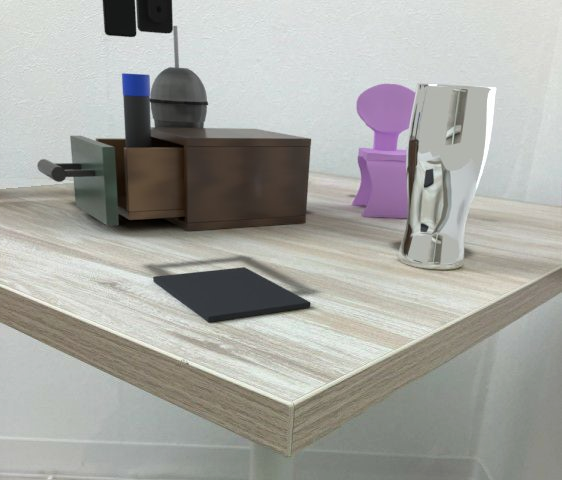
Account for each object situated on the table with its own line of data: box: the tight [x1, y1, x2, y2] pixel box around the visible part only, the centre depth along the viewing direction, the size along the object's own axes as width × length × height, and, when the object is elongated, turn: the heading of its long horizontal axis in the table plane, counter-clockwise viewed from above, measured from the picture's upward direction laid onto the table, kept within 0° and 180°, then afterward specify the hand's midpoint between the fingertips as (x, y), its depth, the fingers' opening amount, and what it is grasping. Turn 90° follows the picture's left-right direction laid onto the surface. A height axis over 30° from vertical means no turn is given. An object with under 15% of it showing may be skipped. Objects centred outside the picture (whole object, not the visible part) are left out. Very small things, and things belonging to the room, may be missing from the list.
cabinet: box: [151, 126, 312, 232], centre depth 73 cm, size 15×13×9 cm
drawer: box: [36, 135, 185, 227], centre depth 68 cm, size 18×11×7 cm, turn 121°
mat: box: [152, 266, 312, 323], centre depth 48 cm, size 10×8×1 cm
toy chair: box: [351, 83, 416, 219], centre depth 80 cm, size 8×9×15 cm
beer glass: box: [397, 82, 497, 271], centre depth 57 cm, size 7×7×15 cm
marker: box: [121, 72, 152, 148], centre depth 67 cm, size 3×3×12 cm
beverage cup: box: [150, 25, 209, 128], centre depth 81 cm, size 7×7×20 cm
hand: (137, 34), depth 63 cm, fingers open, 9 cm apart
